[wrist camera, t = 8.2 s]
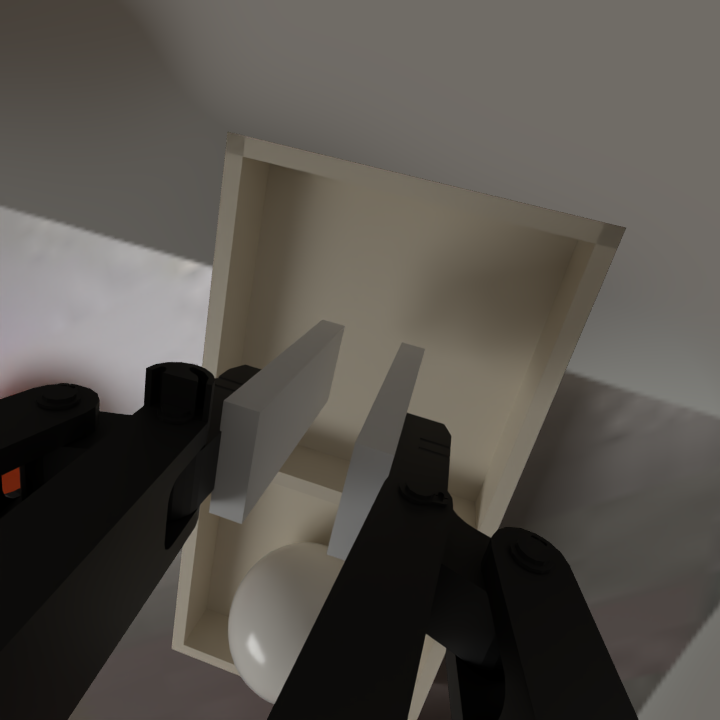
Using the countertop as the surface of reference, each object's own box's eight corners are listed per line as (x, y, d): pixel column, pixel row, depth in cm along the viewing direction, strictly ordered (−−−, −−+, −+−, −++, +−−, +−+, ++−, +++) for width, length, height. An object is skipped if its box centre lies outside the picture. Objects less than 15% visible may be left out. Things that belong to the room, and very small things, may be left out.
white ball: (256, 590, 24) (191, 709, 18) (274, 496, 22) (207, 599, 16) (368, 632, 23) (336, 769, 17) (398, 539, 21) (374, 663, 15)
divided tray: (203, 600, 26) (171, 648, 23) (266, 142, 17) (227, 131, 15) (414, 680, 24) (407, 742, 22) (598, 222, 16) (626, 227, 13)
